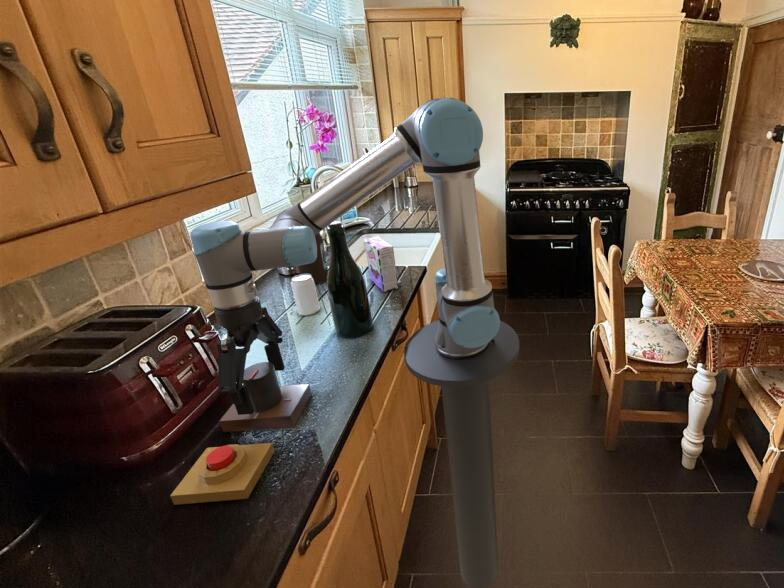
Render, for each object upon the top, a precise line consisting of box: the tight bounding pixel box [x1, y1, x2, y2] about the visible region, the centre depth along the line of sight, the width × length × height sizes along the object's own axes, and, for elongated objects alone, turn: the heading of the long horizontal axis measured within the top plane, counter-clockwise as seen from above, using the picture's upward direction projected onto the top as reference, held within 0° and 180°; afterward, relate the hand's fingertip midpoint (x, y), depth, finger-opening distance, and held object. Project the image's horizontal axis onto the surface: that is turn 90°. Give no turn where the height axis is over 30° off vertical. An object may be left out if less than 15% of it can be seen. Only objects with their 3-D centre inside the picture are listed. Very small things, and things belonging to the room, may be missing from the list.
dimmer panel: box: [218, 383, 313, 433], centre depth 87 cm, size 14×10×3 cm
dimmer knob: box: [242, 361, 282, 411], centre depth 85 cm, size 6×6×8 cm
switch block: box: [169, 442, 275, 506], centre depth 72 cm, size 12×10×4 cm
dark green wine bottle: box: [326, 220, 374, 339], centre depth 113 cm, size 10×10×33 cm
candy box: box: [363, 235, 399, 293], centre depth 145 cm, size 14×6×16 cm, turn 37°
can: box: [290, 273, 321, 317], centre depth 128 cm, size 6×6×12 cm
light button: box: [206, 444, 236, 471], centre depth 71 cm, size 4×4×2 cm
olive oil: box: [297, 232, 329, 285], centre depth 148 cm, size 11×11×25 cm
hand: (263, 389), depth 85 cm, fingers open, 13 cm apart
